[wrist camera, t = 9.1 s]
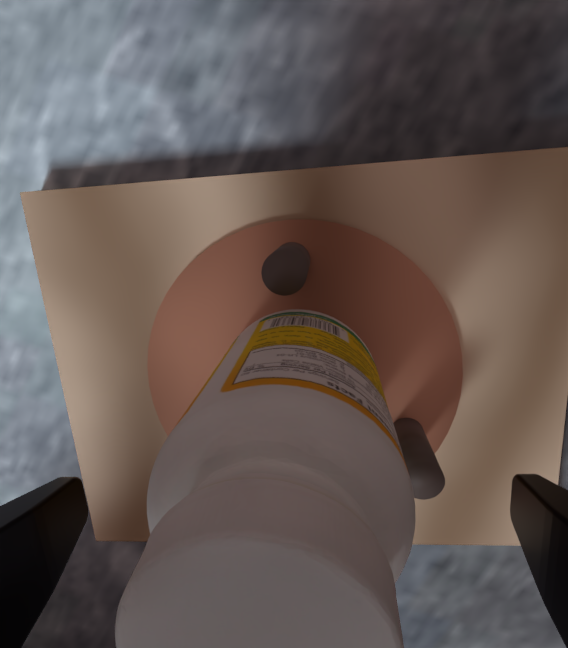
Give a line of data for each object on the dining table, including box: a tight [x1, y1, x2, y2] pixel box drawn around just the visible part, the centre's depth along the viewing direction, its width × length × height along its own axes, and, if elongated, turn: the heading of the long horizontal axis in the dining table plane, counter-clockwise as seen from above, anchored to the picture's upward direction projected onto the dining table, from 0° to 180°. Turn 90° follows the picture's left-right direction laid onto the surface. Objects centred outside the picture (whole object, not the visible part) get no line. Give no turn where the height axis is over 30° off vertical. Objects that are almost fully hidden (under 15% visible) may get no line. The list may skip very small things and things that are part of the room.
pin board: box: [20, 147, 568, 545], centre depth 14 cm, size 18×14×4 cm
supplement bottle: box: [115, 309, 416, 648], centre depth 10 cm, size 5×5×10 cm
